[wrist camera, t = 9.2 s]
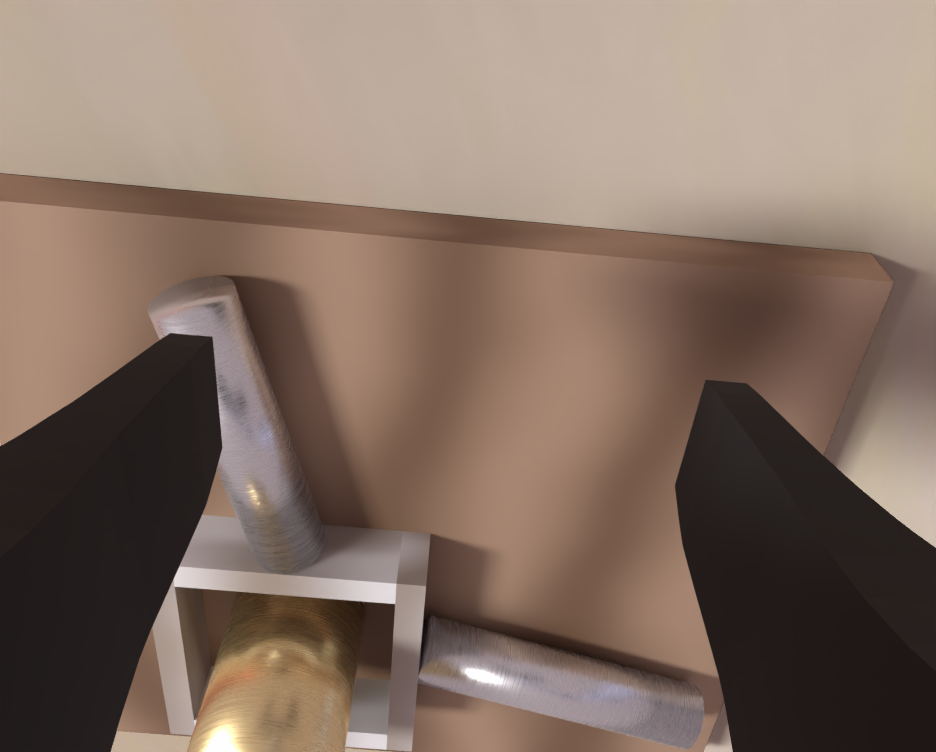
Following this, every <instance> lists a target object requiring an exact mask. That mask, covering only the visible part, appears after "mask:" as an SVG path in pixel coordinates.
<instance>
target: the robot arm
mask: <svg viewBox="0 0 936 752" xmlns="http://www.w3.org/2000/svg"><path fill="white" fill-rule="evenodd" d="M221 451H222V436H221V425H220V414H219V403H218V391H217V380H216V369H215V358H214V346H213V337H211V336H199V335H188V334H176V333H170V334H168V335H167V336H165V337H163V338H162V339H160V340H159V341H158V342H156V343H155V344H153V345H152V346H150V347H149V348H148V349H146V350H145V351H143V352H142V353H141V354H139V355H138V356H137V357H135V358H134V359H132V360H131V361H130V362H128V363H127V364H126V365H124V366H123V367H121V368H120V369H119V370H117V371H116V372H114V373H113V374H112V375H110V376H109V377H107V378H106V379H104V380H103V381H102V382H100V383H99V384H97V385H96V386H94V387H93V388H92V389H90V390H89V391H87V392H86V393H84V394H83V395H82V396H80V397H79V398H77V399H76V400H74V401H73V402H71V403H70V404H68V405H67V406H65V407H63V408H62V409H60V410H59V411H57V412H55V413H54V414H52V415H51V416H49V417H47V418H46V419H44V420H43V421H41V422H39V423H38V424H36V425H35V426H33V427H32V428H30V429H28V430H27V431H25V432H24V433H22V434H20V435H19V436H17V437H15V438H14V439H12V440H10V441H8V442H7V443H5V444H3V445H1V446H0V752H111V748H112V745H113V742H114V738H115V735H116V731H117V728H118V725H119V721H120V718H121V715H122V712H123V709H124V706H125V703H126V700H127V696H128V693H129V690H130V687H131V684H132V681H133V678H134V675H135V672H136V668H137V665H138V662H139V659H140V657H141V654H142V651H143V649H144V646H145V644H146V641H147V639H148V636H149V634H150V631H151V629H152V627H153V624H154V622H155V620H156V618H157V615H158V613H159V611H160V609H161V606H162V604H163V602H164V600H165V597H166V595H167V593H168V591H169V589H170V586H171V584H172V582H173V580H174V577H175V575H176V573H177V571H178V568H179V566H180V564H181V562H182V559H183V557H184V555H185V553H186V551H187V548H188V546H189V544H190V541H191V539H192V537H193V535H194V532H195V530H196V528H197V525H198V523H199V521H200V519H201V516H202V514H203V512H204V509H205V507H206V504H207V501H208V497H209V494H210V491H211V487H212V484H213V481H214V477H215V473H216V470H217V466H218V462H219V459H220V455H221ZM675 491H676V500H677V509H678V517H679V525H680V532H681V539H682V545H683V549H684V553H685V557H686V560H687V564H688V568H689V571H690V575H691V579H692V583H693V586H694V590H695V594H696V597H697V601H698V604H699V608H700V611H701V615H702V618H703V622H704V626H705V629H706V633H707V636H708V640H709V643H710V647H711V650H712V654H713V658H714V661H715V665H716V668H717V672H718V676H719V680H720V684H721V689H722V693H723V697H724V702H725V707H726V713H727V719H728V725H729V731H730V737H731V743H732V749H733V752H936V548H935V547H934V546H932V545H931V544H930V543H928V542H927V541H925V540H924V539H923V538H921V537H920V536H918V535H917V534H916V533H914V532H913V531H911V530H910V529H909V528H908V527H906V526H905V525H904V524H902V523H901V522H900V521H898V520H897V519H896V518H895V517H893V516H892V515H891V514H890V513H889V512H887V511H886V510H885V509H884V508H883V507H881V506H880V505H879V504H878V503H877V502H875V501H874V500H873V499H872V498H870V497H869V496H868V495H867V494H866V493H864V492H863V491H862V490H861V489H860V488H859V487H857V486H856V485H855V484H854V483H853V482H852V481H851V480H850V479H848V478H847V477H846V476H845V475H844V474H843V473H842V472H841V471H839V470H838V469H837V468H836V467H835V466H834V465H833V464H832V463H831V462H830V461H829V460H827V459H826V458H825V457H824V456H823V455H822V454H821V453H820V452H819V451H818V450H817V449H816V448H815V447H814V446H813V445H812V444H810V443H809V442H808V441H807V440H806V439H805V438H804V437H803V436H802V435H801V434H800V433H799V432H798V431H797V430H796V429H795V428H794V427H793V426H792V425H791V424H790V423H789V422H788V421H787V420H786V419H785V418H784V417H783V416H782V415H781V414H780V413H778V412H777V411H776V410H775V409H774V408H773V407H772V406H771V405H770V404H769V403H768V402H767V401H766V400H765V399H764V398H763V397H762V396H761V395H760V394H759V393H757V392H756V391H755V390H754V389H753V388H752V387H751V386H749V385H748V384H747V383H738V382H727V381H715V380H705V383H704V387H703V390H702V394H701V397H700V400H699V404H698V407H697V411H696V414H695V418H694V421H693V425H692V428H691V431H690V435H689V438H688V442H687V445H686V449H685V452H684V456H683V459H682V462H681V466H680V469H679V473H678V476H677V480H676V483H675Z"/></svg>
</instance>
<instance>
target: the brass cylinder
mask: <svg viewBox="0 0 936 752" xmlns="http://www.w3.org/2000/svg"><path fill="white" fill-rule="evenodd" d="M365 612H366V610H365V604H364V602H363V601H350V600H338V599H325V598H312V597H300V596H287V595H274V594H262V593H249V592H237V595H236V598H235V601H234V604H233V608H232V611H231V614H230V617H229V620H228V623H227V627H226V630H225V633H224V636H223V639H222V642H221V645H220V649H219V652H218V655H217V658H216V661H215V664H214V668H213V671H212V674H211V677H210V680H209V683H208V687H207V690H206V693H205V696H204V699H203V702H202V706H201V709H200V712H199V715H198V718H197V721H196V725H195V728H194V731H193V734H192V737H191V740H190V744H189V747H188V750H187V752H345V746H346V739H347V733H348V726H349V720H350V713H351V707H352V700H353V694H354V687H355V681H356V674H357V667H358V661H359V654H360V648H361V641H362V635H363V628H364V622H365Z"/></svg>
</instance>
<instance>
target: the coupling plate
mask: <svg viewBox="0 0 936 752" xmlns="http://www.w3.org/2000/svg"><path fill="white" fill-rule="evenodd" d="M205 276H223V277H227V278H229V279H231V280H232V281H233V282H234V284H235V287H236V290H237V292H238V295H239V298H240V301H241V303H242V306H243V309H244V311H245V314H246V317H247V320H248V322H249V325H250V328H251V331H252V333H253V336H254V339H255V342H256V344H257V347H258V350H259V353H260V355H261V358H262V361H263V364H264V366H265V369H266V372H267V375H268V377H269V380H270V383H271V386H272V388H273V391H274V394H275V397H276V399H277V402H278V405H279V407H280V410H281V413H282V416H283V418H284V421H285V424H286V427H287V429H288V432H289V435H290V438H291V440H292V443H293V446H294V449H295V451H296V454H297V457H298V460H299V462H300V465H301V468H302V471H303V473H304V476H305V479H306V482H307V484H308V487H309V490H310V493H311V495H312V498H313V501H314V504H315V506H316V509H317V512H318V514H319V517H320V520H321V523H322V525H323V528H324V531H325V534H326V537H327V542H326V547H325V549H324V551H323V553H322V554H321V556H320V557H319V558H318V559H317V560H316V561H315V562H314V563H312V564H311V565H310V566H308V567H306V568H305V569H303V570H300V571H298V572H295V573H292V574H287V575H281V574H276V573H273V572H270V571H268V570H266V569H264V568H263V567H261V566H260V565H259V564H258V563H257V561H256V560H255V558H254V556H253V553H252V551H251V549H250V546H249V544H248V542H247V539H246V537H245V535H244V533H243V530H242V528H241V526H240V523H239V521H238V519H237V516H236V514H235V512H234V510H233V507H232V505H231V503H230V500H229V498H228V496H227V494H226V491H225V489H224V487H223V484H222V482H221V480H220V477H219V475H218V473H217V471H216V473H215V477H214V481H213V484H212V487H211V491H210V494H209V497H208V501H207V504H206V507H205V509H204V512H203V514H202V516H201V519H200V521H199V523H198V525H197V528H196V530H195V532H194V535H193V537H192V539H191V541H190V544H189V546H188V548H187V551H186V553H185V555H184V557H183V559H182V562H181V564H180V566H179V568H178V571H177V573H176V575H175V577H174V580H173V582H172V584H171V586H170V589H169V591H168V593H167V595H166V597H165V600H164V602H163V604H162V606H161V609H160V611H159V613H158V615H157V618H156V620H155V622H154V624H153V627H152V629H151V631H150V634H149V636H148V639H147V641H146V644H145V646H144V649H143V651H142V654H141V657H140V659H139V662H138V665H137V668H136V672H135V675H134V678H133V681H132V684H131V687H130V690H129V693H128V696H127V700H126V703H125V706H124V709H123V712H122V715H121V718H120V721H119V725H118V728H117V731H124V732H138V733H151V734H164V735H178V736H191V737H192V734H193V731H194V728H195V725H196V721H197V718H198V715H199V712H200V709H201V706H202V702H203V699H204V696H205V693H206V690H207V687H208V683H209V680H210V677H211V674H212V671H213V668H214V664H215V661H216V658H217V655H218V652H219V649H220V645H221V642H222V639H223V636H224V633H225V630H226V627H227V623H228V620H229V617H230V614H231V611H232V608H233V604H234V601H235V598H236V595H237V592H249V593H262V594H274V595H287V596H300V597H312V598H325V599H338V600H350V601H363V602H364V604H365V610H366V612H365V622H364V628H363V635H362V641H361V648H360V654H359V661H358V667H357V674H356V681H355V687H354V694H353V700H352V707H351V713H350V720H349V726H348V733H347V739H346V746H345V748H353V749H366V750H380V751H393V752H704V749H705V747H706V744H707V742H708V739H709V737H710V734H711V732H712V730H713V727H714V725H715V722H716V720H717V717H718V715H719V712H720V710H721V707H722V705H723V702H724V697H723V693H722V689H721V684H720V680H719V676H718V672H717V668H716V665H715V661H714V658H713V654H712V650H711V647H710V643H709V640H708V636H707V633H706V629H705V626H704V622H703V618H702V615H701V611H700V608H699V604H698V601H697V597H696V594H695V590H694V586H693V583H692V579H691V575H690V571H689V568H688V564H687V560H686V557H685V553H684V549H683V545H682V539H681V532H680V525H679V517H678V509H677V500H676V491H675V483H676V480H677V476H678V473H679V469H680V466H681V462H682V459H683V456H684V452H685V449H686V445H687V442H688V438H689V435H690V431H691V428H692V425H693V421H694V418H695V414H696V411H697V407H698V404H699V400H700V397H701V394H702V390H703V387H704V383H705V380H715V381H727V382H738V383H747V384H748V385H749V386H751V387H752V388H753V389H754V390H755V391H756V392H757V393H759V394H760V395H761V396H762V397H763V398H764V399H765V400H766V401H767V402H768V403H769V404H770V405H771V406H772V407H773V408H774V409H775V410H776V411H777V412H778V413H780V414H781V415H782V416H783V417H784V418H785V419H786V420H787V421H788V422H789V423H790V424H791V425H792V426H793V427H794V428H795V429H796V430H797V431H798V432H799V433H800V434H801V435H802V436H803V437H804V438H805V439H806V440H807V441H808V442H809V443H810V444H812V445H813V446H814V447H815V448H816V449H817V450H818V451H819V452H820V453H821V454H822V455H823V456H824V454H825V451H826V449H827V446H828V444H829V441H830V439H831V436H832V434H833V431H834V429H835V426H836V424H837V421H838V419H839V417H840V414H841V412H842V409H843V407H844V404H845V402H846V399H847V397H848V394H849V392H850V389H851V387H852V385H853V382H854V380H855V377H856V375H857V372H858V370H859V367H860V365H861V362H862V360H863V357H864V355H865V352H866V350H867V348H868V345H869V343H870V340H871V338H872V335H873V333H874V330H875V328H876V325H877V323H878V320H879V318H880V316H881V313H882V311H883V308H884V306H885V303H886V301H887V298H888V296H889V293H890V291H891V288H892V286H893V283H894V282H893V280H892V279H891V278H890V277H889V275H888V274H887V273H886V272H885V270H884V269H883V268H882V267H881V265H880V264H879V263H878V262H877V260H876V259H875V258H874V257H873V255H872V254H871V253H860V252H849V251H839V250H828V249H817V248H806V247H795V246H784V245H773V244H762V243H751V242H740V241H730V240H719V239H708V238H697V237H686V236H675V235H664V234H653V233H642V232H631V231H621V230H610V229H599V228H588V227H577V226H566V225H555V224H544V223H533V222H522V221H511V220H501V219H490V218H479V217H468V216H457V215H446V214H435V213H424V212H413V211H402V210H392V209H381V208H370V207H359V206H348V205H337V204H326V203H315V202H304V201H293V200H283V199H272V198H261V197H250V196H239V195H228V194H217V193H206V192H195V191H184V190H174V189H163V188H152V187H141V186H130V185H119V184H108V183H97V182H86V181H75V180H65V179H54V178H43V177H32V176H21V175H10V174H0V443H1V445H3V444H5V443H7V442H8V441H10V440H12V439H14V438H15V437H17V436H19V435H20V434H22V433H24V432H25V431H27V430H28V429H30V428H32V427H33V426H35V425H36V424H38V423H39V422H41V421H43V420H44V419H46V418H47V417H49V416H51V415H52V414H54V413H55V412H57V411H59V410H60V409H62V408H63V407H65V406H67V405H68V404H70V403H71V402H73V401H74V400H76V399H77V398H79V397H80V396H82V395H83V394H84V393H86V392H87V391H89V390H90V389H92V388H93V387H94V386H96V385H97V384H99V383H100V382H102V381H103V380H104V379H106V378H107V377H109V376H110V375H112V374H113V373H114V372H116V371H117V370H119V369H120V368H121V367H123V366H124V365H126V364H127V363H128V362H130V361H131V360H132V359H134V358H135V357H137V356H138V355H139V354H141V353H142V352H143V351H145V350H146V349H148V348H149V347H150V346H152V345H153V344H155V343H156V342H158V341H159V337H158V335H157V333H156V330H155V328H154V326H153V323H152V321H151V319H150V317H149V314H148V306H149V304H150V303H151V301H152V300H153V299H154V298H155V297H156V296H158V295H159V294H160V293H162V292H163V291H165V290H166V289H168V288H170V287H172V286H174V285H177V284H179V283H182V282H184V281H187V280H191V279H195V278H199V277H205ZM427 615H433V616H436V617H440V618H444V619H448V620H452V621H455V622H459V623H463V624H467V625H471V626H474V627H478V628H482V629H486V630H490V631H493V632H497V633H501V634H505V635H508V636H512V637H516V638H520V639H524V640H527V641H531V642H535V643H539V644H543V645H546V646H550V647H554V648H558V649H562V650H565V651H569V652H573V653H577V654H580V655H584V656H588V657H592V658H596V659H599V660H603V661H607V662H611V663H615V664H618V665H622V666H626V667H630V668H634V669H637V670H641V671H645V672H649V673H652V674H656V675H660V676H664V677H668V678H671V679H675V680H679V681H683V682H687V683H690V684H694V685H696V686H697V687H698V688H699V689H700V691H701V694H702V697H703V701H704V719H703V725H702V729H701V732H700V735H699V737H698V739H697V741H696V742H695V744H694V745H693V746H692V747H690V748H689V749H680V748H676V747H672V746H668V745H664V744H660V743H656V742H652V741H648V740H644V739H640V738H636V737H632V736H628V735H624V734H620V733H616V732H612V731H608V730H604V729H600V728H596V727H592V726H588V725H584V724H580V723H576V722H571V721H567V720H563V719H559V718H555V717H551V716H547V715H543V714H539V713H535V712H531V711H527V710H523V709H519V708H515V707H511V706H507V705H503V704H499V703H495V702H491V701H487V700H483V699H479V698H475V697H471V696H467V695H463V694H459V693H455V692H451V691H447V690H443V689H439V688H435V687H431V686H427V685H423V684H419V683H418V673H419V662H420V650H421V639H422V628H423V621H424V619H425V617H426V616H427Z"/></svg>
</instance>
